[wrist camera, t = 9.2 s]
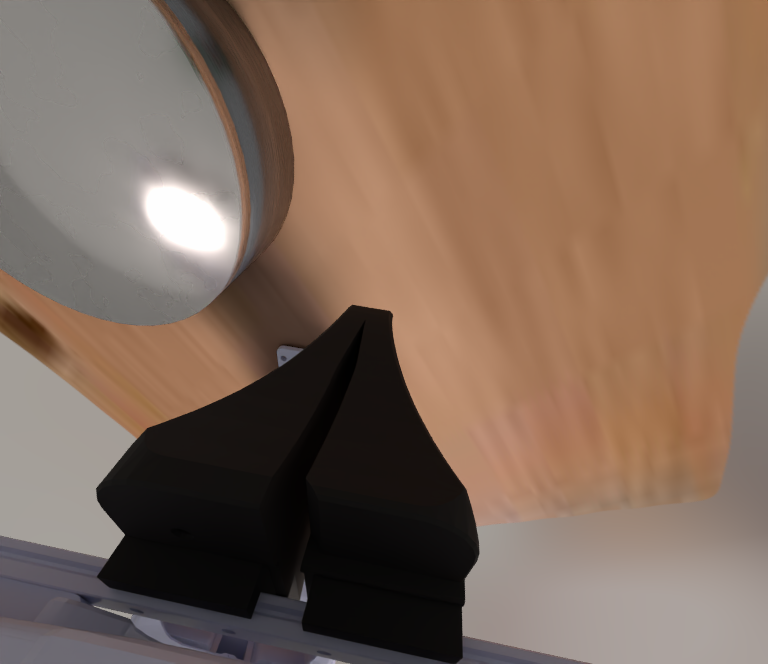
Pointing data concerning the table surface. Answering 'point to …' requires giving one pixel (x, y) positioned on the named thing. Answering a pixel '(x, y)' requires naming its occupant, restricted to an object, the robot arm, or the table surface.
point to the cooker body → (247, 113)
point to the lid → (116, 161)
